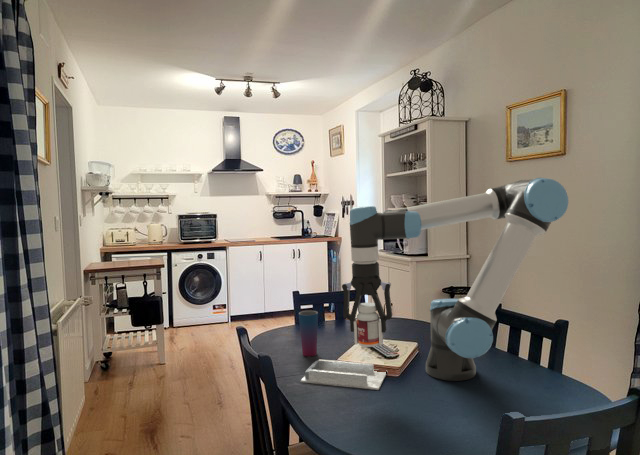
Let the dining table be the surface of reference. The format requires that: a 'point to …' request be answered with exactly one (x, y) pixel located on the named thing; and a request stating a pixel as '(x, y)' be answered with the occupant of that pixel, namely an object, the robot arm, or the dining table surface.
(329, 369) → the white shallow tray
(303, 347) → the cup
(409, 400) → the dining table surface
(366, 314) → the pill bottle
